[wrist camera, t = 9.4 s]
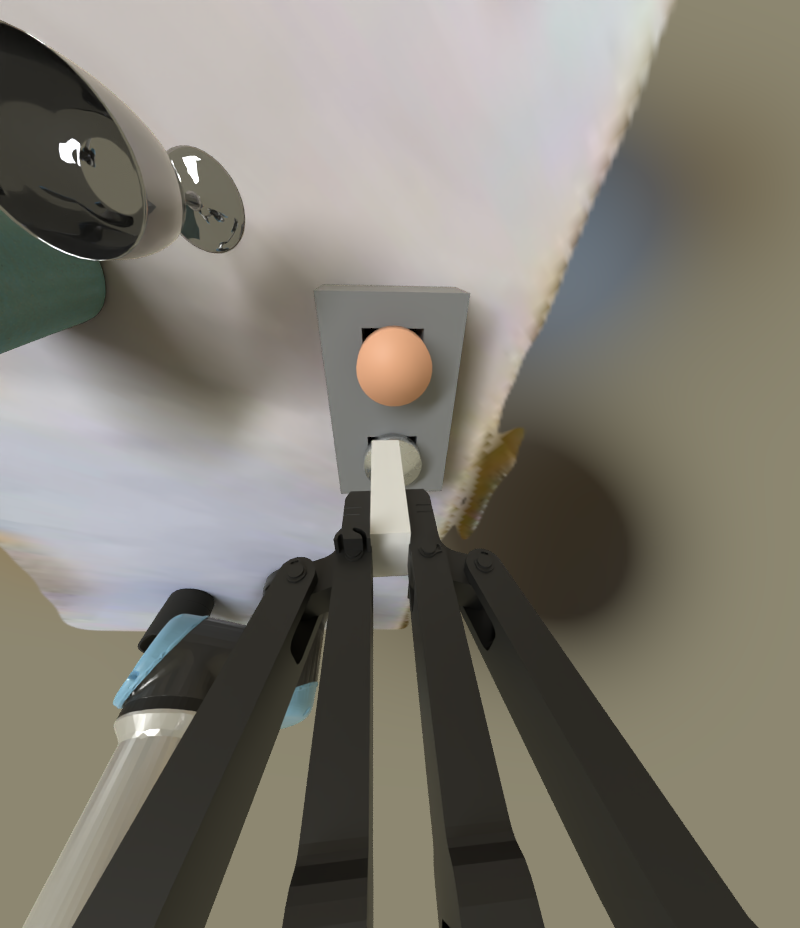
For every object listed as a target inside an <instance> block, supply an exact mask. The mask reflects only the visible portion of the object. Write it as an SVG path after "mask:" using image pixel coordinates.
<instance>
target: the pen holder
mask: <svg viewBox="0 0 800 928" xmlns="http://www.w3.org/2000/svg"><path fill="white" fill-rule="evenodd" d="M213 606H214V599H213V597H212V596H211V595H209V594H208V593H206V592H203V591H200V590H196V589H180V590H177V591H175V592H173V593H172V594H171V595H170V597H169V598H168V600H167V601H166V603H165V604H164V606H163V607H162V608H161V610H160V612H159V613H158V615H157V616H156V618H155V619H154V621H153V622H152V624H151V625H150V627H149V628H148V630H147V631H146V633H145V635H144V636H143V638H142V639H141V641H140V642H139V644H138V649H139V650H140V651H141V652H143V653H145V651H146V650H147V649H148V647H149V646H150V645H151V643H152V642H153V641H154V639H155V638H156V637H157V635H158V634H159V633H160V631H161V630H162V629H163V628H164V626H165V625H166V624H167V623H168V622H169V621H170V620H171V619H172V618H174V617H175V616H177V615H180V614H191V615H197V616H210V614H211V611H212V609H213Z"/></svg>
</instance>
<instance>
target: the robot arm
mask: <svg viewBox="0 0 800 928" xmlns="http://www.w3.org/2000/svg"><path fill="white" fill-rule="evenodd" d="M334 545H335V551H334V552H333V553H332V554H330V555H329V556H327V557H325V558H322V559H319V560H316V561H313V562H312V561H311V560H310V559H308V558H305V557H297V558H294V559H290V560H289V561H287V562H286V563H284V564H283V565H282V567H281V568H280V569H279V570H277V571H275V572H273V573H272V574H271V575H269V577H268V578H267V580H266V583H265V586H264V590H263V598H262V600H261V601H260V603H259V605H258V607H257V608H256V610H255V612H254V614H253V615H252V617H251V619H250V620H249V622H248V624H247V626H246V625H242V624H237V623H233V622H228V621H224V620H219V619H215V618H210V617H209V616H197V615H191V614H180V615H177V616H175V617H174V618H172V619H171V620H170V621H169V622H168V623H167V624H166V625H165V626H164V628H163V629H162V630H161V631H160V633H159V634H158V635H157V637H156V638H155V639H154V641H153V642H152V643H151V645H150V646H149V647H148V649H147V650H146V651H145V653H144V654H143V656H142V657H141V659H140V660H139V662H138V663H137V664H136V666H135V667H134V669H133V671H132V672H131V674H130V675H129V677H128V678H127V679H126V681H125V682H124V683H123V685H122V687H121V688H120V690H119V691H118V693H117V695H116V697H115V698H114V701H113V705H114V706H117V708H123V709H122V711H121V712H120V714H119V716H118V718H117V720H116V722H115V723H114V730H115V733H116V736H117V739H118V746H117V748H116V750H115V752H114V754H113V756H112V757H111V759H110V761H109V763H108V765H107V767H106V769H105V771H104V773H103V775H102V776H101V778H100V780H99V782H98V784H97V786H96V788H95V790H94V792H93V794H92V796H91V798H90V799H89V801H88V803H87V805H86V807H85V809H84V811H83V813H82V815H81V817H80V818H79V821H78V822H77V824H76V826H75V828H74V830H73V832H72V834H71V836H70V837H69V839H68V841H67V843H66V845H65V847H64V849H63V851H62V853H61V855H60V857H59V858H58V860H57V862H56V865H55V866H54V868H53V870H52V872H51V874H50V876H49V878H48V880H47V881H46V883H45V885H44V887H43V889H42V891H41V893H40V895H39V897H38V899H37V900H36V903H35V904H34V906H33V908H32V910H31V912H30V914H29V916H28V918H27V919H26V921H25V923H24V926H23V927H22V928H204V927H205V925H206V922H207V919H208V917H209V913H210V911H211V909H212V906H213V904H214V901H215V898H216V896H217V893H218V890H219V888H220V885H221V882H222V880H223V877H224V875H225V872H226V869H227V867H228V864H229V862H230V859H231V856H232V853H233V851H234V848H235V846H236V843H237V840H238V838H239V835H240V833H241V830H242V827H243V825H244V822H245V819H246V817H247V814H248V812H249V809H250V806H251V804H252V801H253V798H254V796H255V793H256V791H257V788H258V785H259V783H260V780H261V777H262V775H263V772H264V769H265V767H266V764H267V762H268V759H269V756H270V754H271V751H272V748H273V746H274V743H275V740H276V738H277V735H278V733H279V730H280V729H282V728H286V727H289V726H293V725H295V724H297V723H299V722H301V721H303V720H304V719H305V718H306V717H307V716H308V715H309V714H310V712H311V710H312V707H313V702H314V696H315V692H316V687H317V685H318V682H317V680H318V672H319V665H320V657H321V648H322V641H323V633H324V627H325V623H326V621H327V619H328V621H327V629H326V637H325V646H324V652H323V660H322V669H321V676H320V684H319V692H318V700H317V708H316V716H315V724H314V732H313V739H312V748H311V755H310V763H309V771H308V778H307V786H306V794H305V802H304V810H303V818H302V826H301V834H300V841H299V849H298V856H297V861H296V866H295V870H294V873H293V877H292V880H291V884H290V887H289V892H288V897H287V902H286V907H285V913H284V919H283V926H282V928H373V577H385V576H405V575H408V577H409V586H408V598H409V600H410V611H411V620H412V631H413V641H414V651H415V661H416V672H417V682H418V692H419V702H420V711H421V723H422V733H423V743H424V753H425V762H426V774H427V784H428V793H429V804H430V814H431V824H432V834H433V846H434V875H435V888H436V899H437V909H438V920H439V928H545V927H544V923H543V919H542V915H541V911H540V908H539V904H538V900H537V896H536V892H535V889H534V885H533V881H532V878H531V875H530V872H529V869H528V866H527V863H526V861H525V858H524V856H523V854H522V852H521V850H520V848H519V846H518V844H517V842H516V839H515V837H514V833H513V831H512V827H511V823H510V820H509V815H508V812H507V807H506V803H505V799H504V794H503V790H502V786H501V782H500V777H499V773H498V769H497V765H496V761H495V756H494V752H493V748H492V744H491V739H490V735H489V731H488V727H487V723H486V719H485V714H484V710H483V706H482V702H481V698H480V693H479V689H478V685H477V681H476V676H475V672H474V668H473V664H472V660H471V655H470V651H469V647H468V643H467V639H466V635H465V630H464V626H463V622H462V617H461V614H460V611H461V613H462V615H463V618H464V620H465V622H466V624H467V626H468V628H469V630H470V632H471V634H472V636H473V638H474V640H475V642H476V644H477V646H478V649H479V650H480V653H481V655H482V657H483V659H484V661H485V663H486V665H487V667H488V669H489V671H490V673H491V675H492V677H493V679H494V681H495V684H496V686H497V688H498V690H499V692H500V694H501V696H502V698H503V700H504V702H505V704H506V706H507V708H508V710H509V713H510V714H511V717H512V719H513V721H514V723H515V725H516V727H517V729H518V731H519V733H520V735H521V737H522V739H523V741H524V743H525V746H526V747H527V750H528V752H529V754H530V756H531V758H532V760H533V762H534V764H535V766H536V768H537V770H538V772H539V774H540V776H541V779H542V781H543V783H544V785H545V787H546V789H547V791H548V793H549V795H550V797H551V799H552V801H553V803H554V805H555V807H556V810H557V811H558V813H559V816H560V818H561V820H562V822H563V824H564V826H565V828H566V830H567V832H568V834H569V836H570V838H571V840H572V843H573V845H574V847H575V849H576V851H577V853H578V855H579V857H580V859H581V861H582V863H583V865H584V867H585V869H586V871H587V873H588V875H589V878H590V880H591V882H592V883H593V886H594V888H595V890H596V892H597V894H598V896H599V898H600V900H601V901H602V904H603V905H604V907H605V909H606V911H607V913H608V915H609V917H610V919H611V921H612V923H613V925H614V927H615V928H758V927H757V926H756V925H755V924H754V922H753V921H751V919H750V918H749V917H748V916H747V914H746V913H745V912H744V910H743V909H742V907H741V906H740V904H739V903H738V901H737V900H736V899H735V897H734V896H733V895H732V893H731V892H730V890H729V889H728V887H727V886H726V884H725V883H724V881H723V880H722V879H721V877H720V876H719V874H718V873H717V871H716V870H715V868H714V867H713V866H712V864H711V863H710V861H709V860H708V858H707V857H706V856H705V854H704V853H703V851H702V850H701V848H700V847H699V845H698V844H697V843H696V841H695V840H694V838H693V837H692V835H691V834H690V833H689V831H688V830H687V828H686V827H685V825H684V824H683V822H682V821H681V820H680V818H679V817H678V815H677V814H676V813H675V811H674V809H673V808H672V807H671V805H670V804H669V802H668V801H667V800H666V798H665V796H664V795H663V794H662V792H661V791H660V789H659V788H658V786H657V785H656V784H655V782H654V781H653V779H652V778H651V776H650V775H649V773H648V772H647V771H646V769H645V768H644V766H643V765H642V763H641V762H640V761H639V759H638V758H637V756H636V755H635V753H634V752H633V750H632V749H631V748H630V746H629V745H628V743H627V742H626V740H625V739H624V738H623V736H622V735H621V733H620V732H619V730H618V729H617V727H616V726H615V725H614V723H613V722H612V720H611V719H610V717H609V716H608V714H607V713H606V712H605V710H604V709H603V707H602V706H601V704H600V703H599V702H598V700H597V699H596V697H595V696H594V694H593V693H592V692H591V690H590V689H589V687H588V686H587V684H586V683H585V681H584V680H583V679H582V677H581V676H580V674H579V673H578V671H577V670H576V669H575V667H574V666H573V664H572V663H571V661H570V660H569V658H568V657H567V656H566V654H565V653H564V651H563V650H562V648H561V647H560V645H559V644H558V643H557V641H556V640H555V638H554V637H553V635H552V634H551V633H550V631H549V630H548V628H547V627H546V625H545V624H544V622H543V621H542V620H541V618H540V617H539V615H538V614H537V612H536V611H535V609H534V608H533V607H532V605H531V604H530V602H529V601H528V600H527V598H526V597H525V595H524V594H523V592H522V591H521V589H520V588H519V587H518V585H517V584H516V582H515V581H514V579H513V578H512V576H511V575H510V574H509V572H508V571H507V569H506V568H505V566H504V565H503V563H502V562H501V561H500V559H499V558H498V557H497V556H496V555H495V554H494V553H492V552H490V551H489V550H485V549H475V550H472V551H470V552H469V554H464V553H460V552H456V551H453V550H451V549H449V548H447V547H446V546H445V545H444V544H443V543H442V542H441V540H440V538H439V535H438V531H437V526H436V522H435V518H434V513H433V509H432V506H431V500H430V496H429V495H428V493H427V492H426V491H425V490H424V489H405V484H404V476H403V469H402V461H401V454H400V446H399V440H372V449H371V491H351V492H350V493H349V494H348V496H347V497H346V499H345V506H344V516H343V522H342V529H340V530H339V531H338V532H337V533H336V535H335V537H334Z"/></svg>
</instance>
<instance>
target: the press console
mask: <svg viewBox="0 0 800 928" xmlns="http://www.w3.org/2000/svg"><path fill="white" fill-rule="evenodd" d="M314 296H315V304H316V311H317V319H318V326H319V333H320V341H321V348H322V356H323V363H324V370H325V378H326V385H327V393H328V400H329V408H330V415H331V422H332V430H333V437H334V445H335V452H336V459H337V467H338V474H339V482H340V489H341V494H347V493H350V492H351V491H371V481H370V480H369V479H368V477H367V476H366V474H365V471H364V455H365V450H366V448H367V446H368V445H369V443H370V437H379V436H381V435H384V434H389V433H397V434H402V435H405V436H411V439H412V440H413V441H414V442H415V443H416V445H417V447H418V449H419V452H420V457H421V462H422V467H421V471H420V473H419V475H418V477H417V478H416V479H415V480H414V481H413V482H411V483H410V484H408V485H406V486H405V489H424V490H425V491H442V484H443V477H444V470H445V463H446V456H447V450H448V443H449V436H450V429H451V422H452V415H453V408H454V401H455V394H456V387H457V380H458V374H459V367H460V360H461V353H462V346H463V339H464V332H465V325H466V318H467V311H468V305H469V298H470V293H468V292H466V291H464V290H461V289H459V288H456V287H425V286H375V285H325V284H324V285H322V286H320V287H319V288H317V289H315V290H314ZM386 326H401V327H405V328H412V329H416V334H417V335H418V336H419V337H420V338H421V340H422V341H423V342H424V344H425V346H426V348H427V350H428V351H429V354H430V356H431V361H432V376H431V379H430V382H429V385H428V386H427V388H426V390H425V391H424V392H423V394H422V395H421V396H420V397H418V398H417V399H416V400H414V401H413V402H411V403H409V404H406V405H402V406H385V405H382V404H379V403H377V402H375V401H374V400H372V399H371V398H370V397H368V396H367V395H366V394H365V392H364V391H363V390H362V388H361V386H360V384H359V381H358V378H357V372H356V365H357V359H358V354H359V350H360V348H361V345H362V344H363V342H364V341H365V333H364V328H382V327H386Z"/></svg>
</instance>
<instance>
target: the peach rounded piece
mask: <svg viewBox="0 0 800 928" xmlns="http://www.w3.org/2000/svg"><path fill="white" fill-rule="evenodd" d="M356 372H357V378H358V381H359V384H360V386H361V388H362V390H363V391H364V392H365V394H366V395H367V396H368V397H370V398H371V399H372V400H374V401H375V402H377V403H379V404H382V405H385V406H402V405H406V404H409V403H411V402H413V401H414V400H416V399H417V398H418V397H420V396H421V395H422V394H423V392H424V391H425V390H426V388H427V386H428V385H429V382H430V379H431V376H432V361H431V356H430V354H429V351H428V350H427V348H426V346H425V344H424V342H423V341H422V340H421V338H420V337H419V336H418V335H417V334H416V333H414V332H413V331H411V330H410V329H407V328H405V327H401V326H386V327H382V328H379V329H377V330H376V331H374V332H373V333H371V334H370V335H369V336H368V337H367V338H366V339H365V341H364V342H363V344H362V345H361V348H360V350H359V354H358V359H357V365H356Z"/></svg>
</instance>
